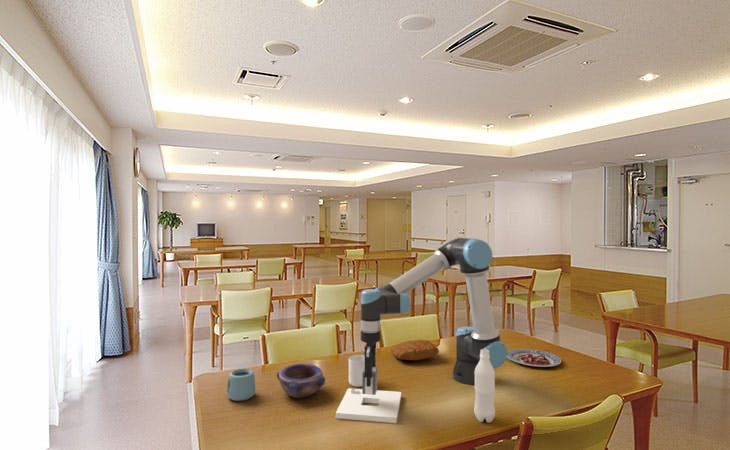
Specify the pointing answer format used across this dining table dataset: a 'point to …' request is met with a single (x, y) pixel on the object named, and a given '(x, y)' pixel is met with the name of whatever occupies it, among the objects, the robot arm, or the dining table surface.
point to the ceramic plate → (533, 358)
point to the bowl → (301, 379)
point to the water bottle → (484, 388)
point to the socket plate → (383, 412)
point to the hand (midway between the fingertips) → (370, 390)
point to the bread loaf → (414, 350)
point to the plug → (374, 375)
